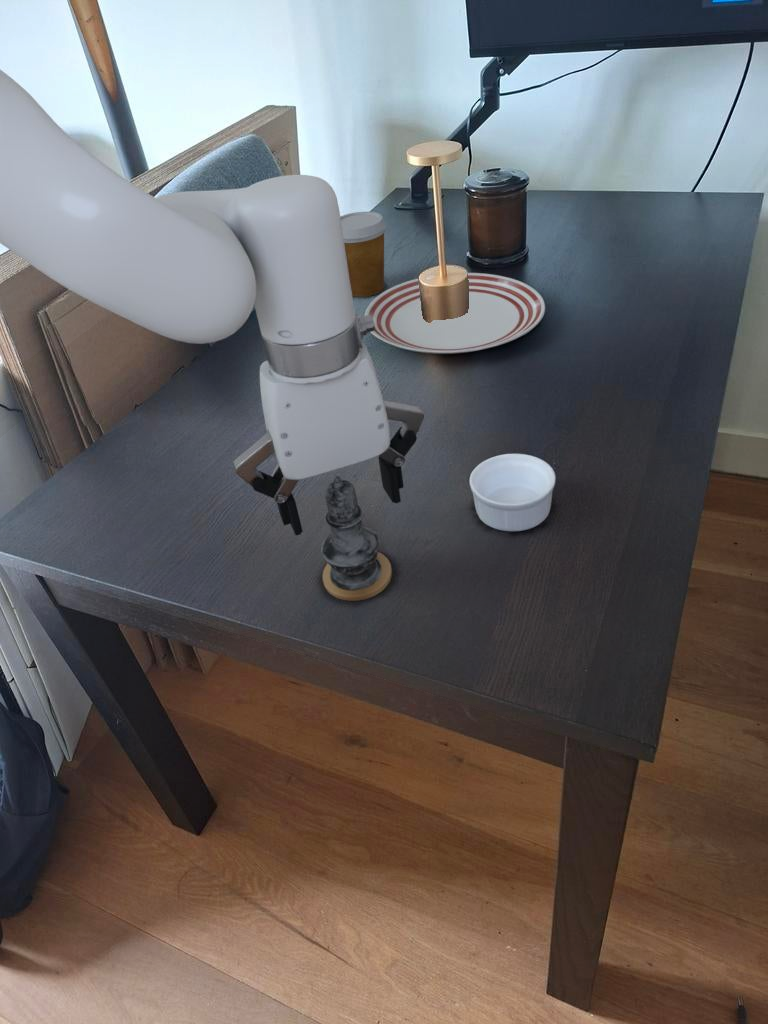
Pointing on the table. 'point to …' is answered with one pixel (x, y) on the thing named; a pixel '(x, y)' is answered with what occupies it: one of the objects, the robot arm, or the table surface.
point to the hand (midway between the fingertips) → (344, 510)
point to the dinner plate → (489, 322)
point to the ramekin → (512, 491)
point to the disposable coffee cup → (364, 251)
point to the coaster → (362, 593)
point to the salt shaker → (349, 540)
